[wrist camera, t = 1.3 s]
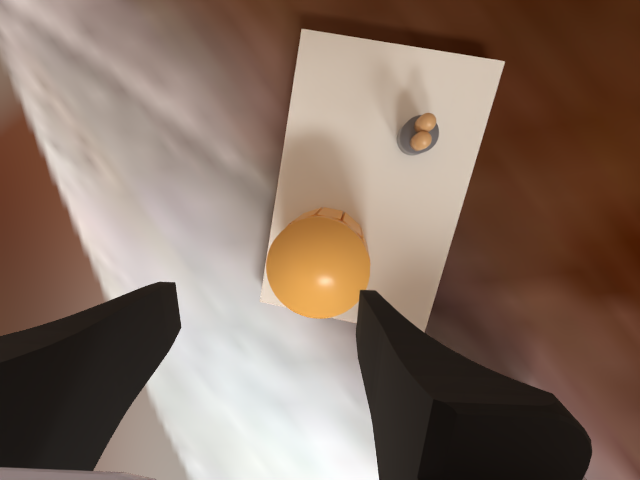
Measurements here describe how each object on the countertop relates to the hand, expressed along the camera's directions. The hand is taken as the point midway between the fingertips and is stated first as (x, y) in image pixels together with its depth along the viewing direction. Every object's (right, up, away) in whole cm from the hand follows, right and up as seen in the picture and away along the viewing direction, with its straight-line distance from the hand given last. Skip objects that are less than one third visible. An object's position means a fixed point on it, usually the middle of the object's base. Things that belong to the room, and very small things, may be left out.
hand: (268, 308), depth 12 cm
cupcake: (+2, +2, +9) cm, 9 cm away
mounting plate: (+5, +6, +9) cm, 12 cm away
